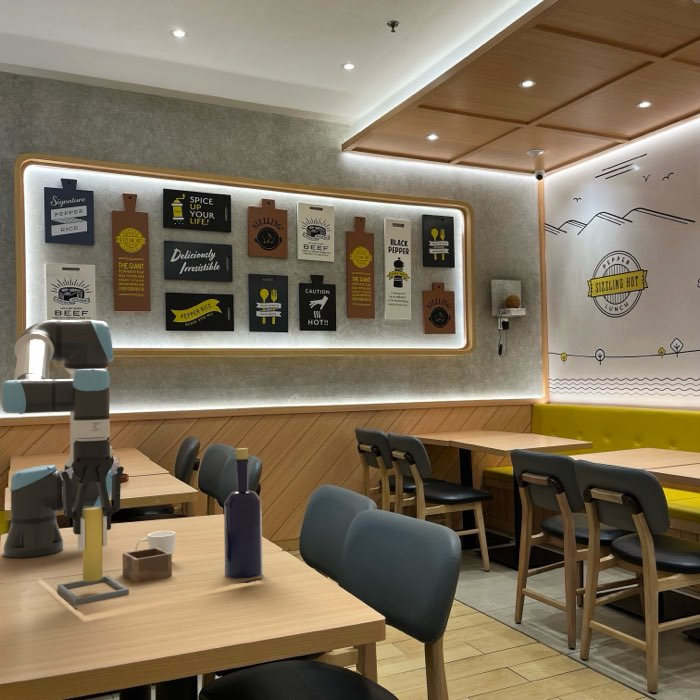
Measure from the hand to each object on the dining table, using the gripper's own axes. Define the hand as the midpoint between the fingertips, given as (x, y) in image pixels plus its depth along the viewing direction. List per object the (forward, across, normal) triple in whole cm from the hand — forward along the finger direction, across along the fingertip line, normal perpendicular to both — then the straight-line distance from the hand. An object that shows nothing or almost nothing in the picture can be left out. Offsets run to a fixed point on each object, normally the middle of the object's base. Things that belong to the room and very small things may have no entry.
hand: (92, 547), depth 152 cm
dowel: (+7, 0, 0) cm, 7 cm away
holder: (+11, +14, +5) cm, 18 cm away
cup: (+11, +20, +15) cm, 27 cm away
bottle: (+11, +32, -9) cm, 35 cm away
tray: (+11, 0, 0) cm, 11 cm away
